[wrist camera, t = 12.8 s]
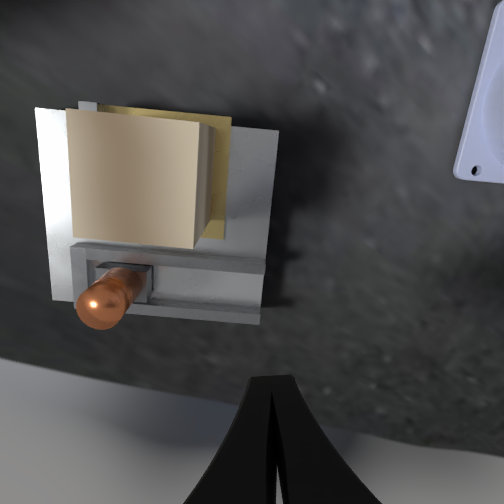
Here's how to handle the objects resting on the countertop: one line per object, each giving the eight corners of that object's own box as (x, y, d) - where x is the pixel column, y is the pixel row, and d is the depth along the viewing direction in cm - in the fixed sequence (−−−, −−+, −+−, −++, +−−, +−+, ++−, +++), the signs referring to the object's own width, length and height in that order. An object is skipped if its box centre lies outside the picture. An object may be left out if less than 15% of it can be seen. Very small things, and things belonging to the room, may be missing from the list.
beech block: (215, 128, 17) (199, 122, 12) (210, 220, 18) (193, 249, 13) (121, 118, 16) (65, 108, 12) (122, 211, 18) (73, 237, 13)
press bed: (278, 123, 18) (281, 120, 15) (259, 307, 21) (259, 328, 18) (48, 101, 17) (17, 95, 15) (63, 291, 21) (39, 309, 18)
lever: (151, 263, 19) (127, 291, 15) (151, 297, 19) (128, 331, 16) (102, 259, 18) (67, 286, 15) (104, 293, 19) (70, 326, 16)
